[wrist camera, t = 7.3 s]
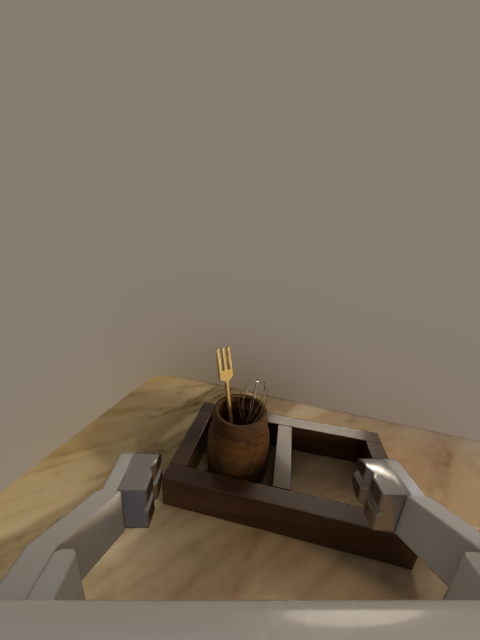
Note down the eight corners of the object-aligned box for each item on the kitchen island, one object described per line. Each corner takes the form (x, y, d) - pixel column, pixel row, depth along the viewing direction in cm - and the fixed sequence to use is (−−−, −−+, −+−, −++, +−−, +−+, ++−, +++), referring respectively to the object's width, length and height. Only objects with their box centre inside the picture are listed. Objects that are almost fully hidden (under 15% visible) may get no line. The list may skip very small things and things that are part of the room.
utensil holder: (230, 509, 21) (237, 386, 18) (194, 459, 26) (194, 353, 22) (278, 474, 25) (292, 365, 21) (239, 435, 30) (246, 341, 26)
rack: (412, 570, 18) (424, 541, 17) (162, 504, 22) (161, 477, 21) (371, 454, 28) (377, 433, 27) (204, 422, 31) (204, 401, 30)
